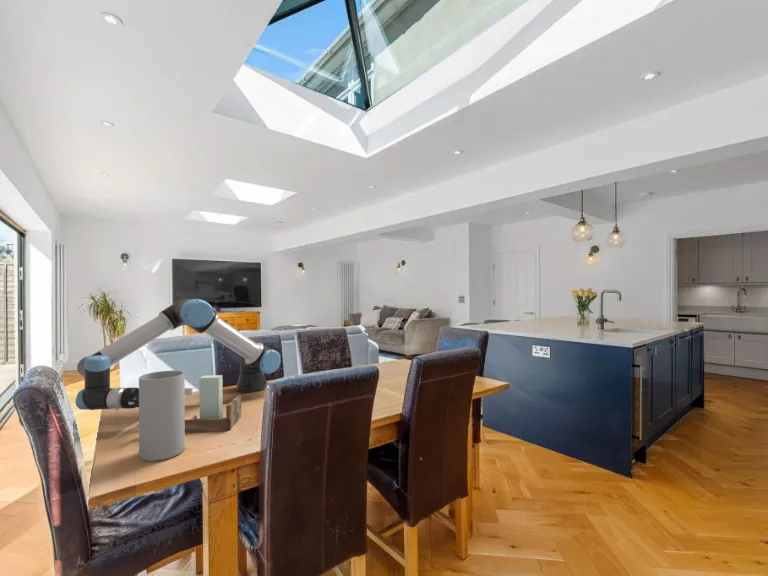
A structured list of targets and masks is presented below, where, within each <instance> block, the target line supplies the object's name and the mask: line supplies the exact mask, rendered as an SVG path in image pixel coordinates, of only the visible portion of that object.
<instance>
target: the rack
mask: <svg viewBox="0 0 768 576" xmlns="http://www.w3.org/2000/svg"><path fill="white" fill-rule="evenodd" d="M225 410H226V412H225V414H226V415H225V416H226V417H223V419H200V418H198V415H194V416H192V417H191V418H189V419H185V433H189V432H190V433H195V432H198V433H199V432H222V431H223V432H224V431H226V432H228V431H231V430H232V429H233V427H234V426H235V425H236V424H237V423H238V422H239V420H241V418H242V394H238V395H236V396H235V397H234V398H233V399H232V400H231V401H230V402H229V403H228V404H227V405H226V406H225Z"/></svg>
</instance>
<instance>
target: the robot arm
mask: <svg viewBox="0 0 768 576" xmlns="http://www.w3.org/2000/svg"><path fill="white" fill-rule="evenodd" d="M182 326H187V327H189V328H191V329H192V330H194V331H195V332H197V333H199V334H204V333H205V334H207V335H208V336H210V337H211V338H213V339H215V340H216V341H218V342H219V343H220V344H222V345H224V346H225V347H227V348H228V349H230V350H231V351H233V352H234V353H236V354H237V355H239V377H238V381H237V383H236V391H237V392H241V393H254V392H255V393H256V392H261V391H264V390H266V389H265V387H266V384H267V385H268V383H267V379H266V376H265V374H268V375H269V374H272V373H275V372H276V371H277V370H278V369H279V368H280V365H281V354H280V353H279V352H278V351H277V350H275V349H271V348H269V347H267V346H266V345H265V344H263V343H262V342H255V341H253V340H252V339H251V338H249V337H248V336H246V335H245V334H243V333H242V332H240V331H239V330H238V329H236V328H235V327H233V326H232V325H230V324H229V323H227V322H226V321H225V320H223V319H222V318H220V317H219V314H218V311H216V310H215V309H214V308H213V307H212V305H211V304H210V303H208V301H206V300H203V299H200V298H192V299H191V298H183V299H180V300H177V301H175V302H174V303H173V304H171V305H169V306H167V307H166V308H165V309H163V310H161V311H159V313H158V315H157V316H156V317H154V318H152V319H151V320H149V321H147V322H146V323H144V324H141V325H140V326H138V328H137V327H136V328H135V329H134V330H132V331H130V332H129V333H127V334H126V335H123V336H122V337H120V338H118V339H117V340H115V341H113V342H111V343H110V344H108V345H107V346H105V347H104V348H102V349H100V350H98V351H97V352H95V353H92V355H88V356H84V357H83V358H80V360H79V361H78V363H77V365H76V367H77V368H76V369H77V371H78V374H79V375H81V376H82V377H84V388H82V389H81V390H79V391H78V392H77V395H76V398H75V402H74V403H75V406H76V407H77V409H79V410H83V411H85V410H87V411H88V410H89V411H94V410H95V411H96V410H112V409H113V410H115V411H118V410H122V409H123V410H124V409H136V408H139V387H135V386H134V387H111V367H112V366H113V365H114V364H116V363H118V362H120V361H121V360H123V359H125V358H126V357H128V356H129V355H131V354H132V353H134V352H136V351H138V350H139V349H141V348H142V347H143V346H145V345H147V344H149V343H150V342H151V341H153V340H156V339H157V338H159V337H161V336H162V335H163V334H165V333H166V332H168V331H174V330H176V329H178V328H179V327H182ZM193 389H194V388H193V387H185V396H193V395H194V390H193Z"/></svg>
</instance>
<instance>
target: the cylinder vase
mask: <svg viewBox="0 0 768 576" xmlns="http://www.w3.org/2000/svg"><path fill="white" fill-rule="evenodd" d="M138 388H139V407H138V430H139V431H138V432H139V433H138V439H139V440H138V441H139V442H138V443H139V445H138V450H139V452H138V455H139V458H140V459H141V460H142V461H146V462H158V461H165V460H168V459H172V458H174V457H176V456H179V455H180V454H181V453H182V452H183V451H184V450H185V447H186V437H185V436H186V432H185V420H186V419H185V418H186V417H185V415H186V413H185V410H186V409H185V408H186V407H185V406H186V405H185V403H186V401H185V398H186V395H185V388H186V387H185V371H184V370H183V371H182V370H162V371H154V372H149V373H144V374H142V375H140V376H138Z"/></svg>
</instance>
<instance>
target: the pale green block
mask: <svg viewBox="0 0 768 576" xmlns="http://www.w3.org/2000/svg"><path fill="white" fill-rule="evenodd" d="M223 383H224V382H223V374H221V375H220V374H219V375H217V374H215V375H214V374H213V375H202V376H201V377H199V383H198V385H199V390H198V391H199V393H198V395H199V396H198V397H199V402H198V403H199V404H198V405H199V419H223V418H224V417H223V416H224V414H223V413H224V410H223V409H224V406H223V405H224V402H223V401H224V399H223V395H224V393H223V386H224V385H223Z"/></svg>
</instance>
